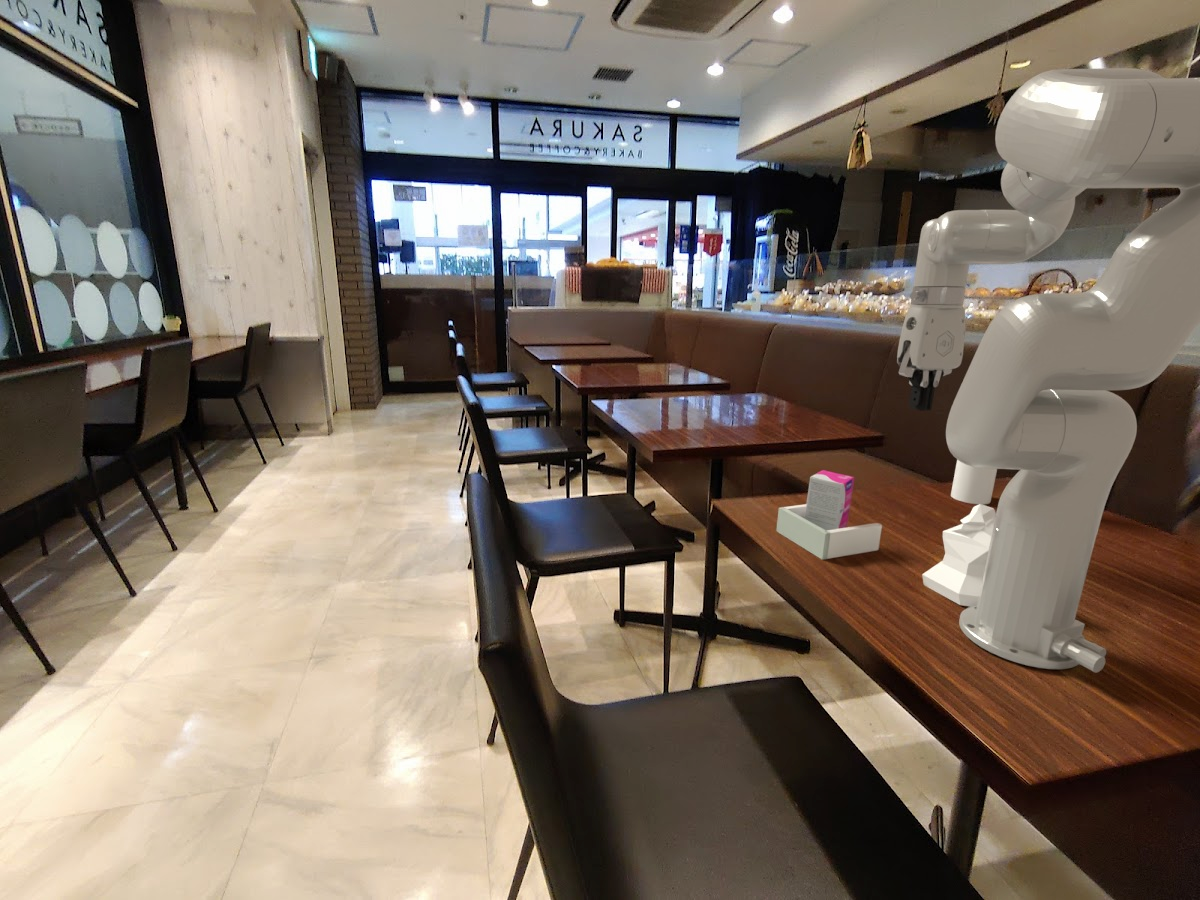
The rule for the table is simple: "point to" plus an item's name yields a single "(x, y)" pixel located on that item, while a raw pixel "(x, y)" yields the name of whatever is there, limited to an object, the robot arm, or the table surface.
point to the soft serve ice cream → (963, 558)
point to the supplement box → (829, 500)
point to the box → (826, 535)
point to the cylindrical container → (973, 484)
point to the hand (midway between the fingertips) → (919, 409)
